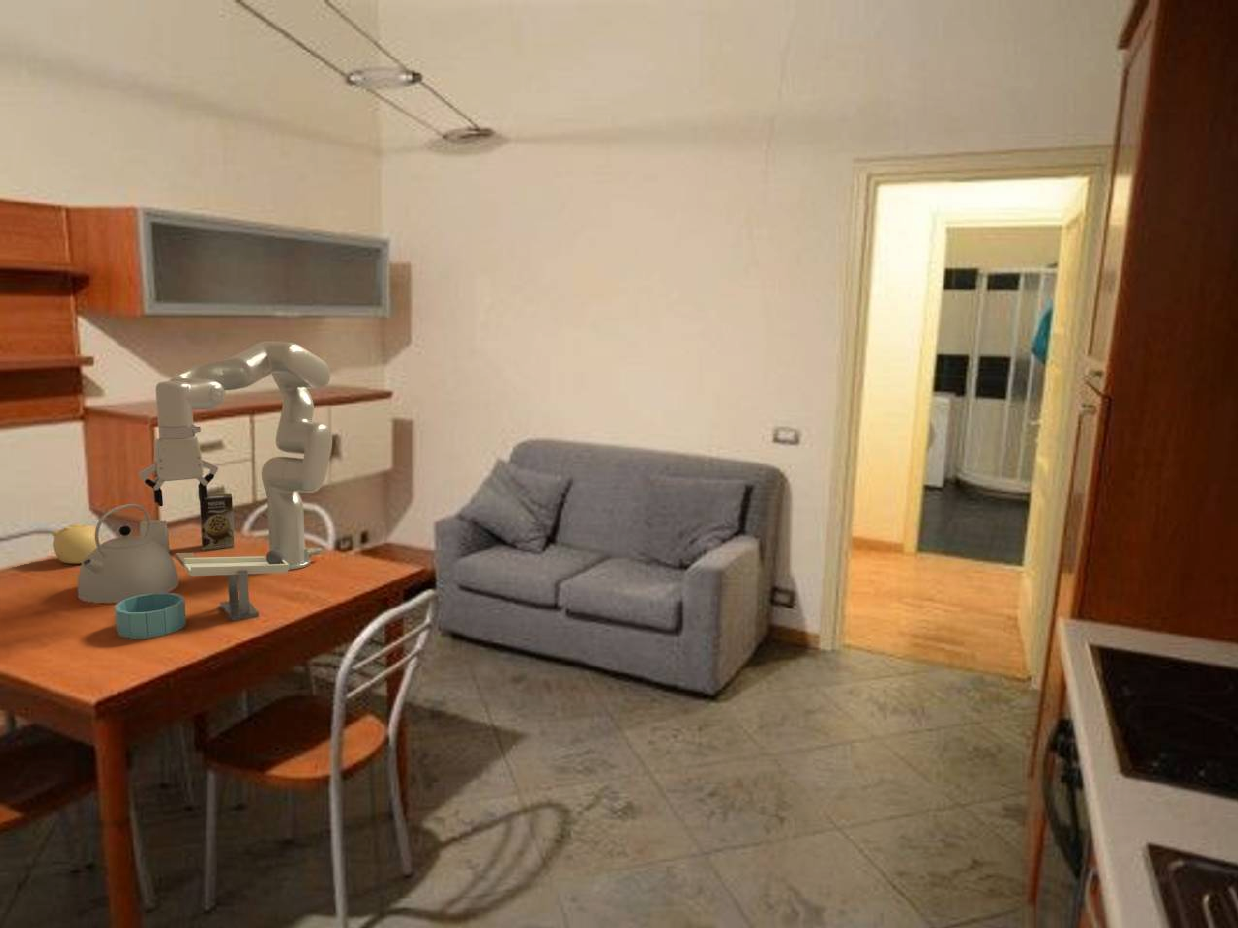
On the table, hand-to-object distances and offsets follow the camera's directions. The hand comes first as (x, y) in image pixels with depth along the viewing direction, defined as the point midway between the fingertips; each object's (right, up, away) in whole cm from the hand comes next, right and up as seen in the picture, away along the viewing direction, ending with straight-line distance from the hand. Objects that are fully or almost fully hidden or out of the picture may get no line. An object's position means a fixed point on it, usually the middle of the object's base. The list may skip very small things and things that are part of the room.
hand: (181, 502), depth 202 cm
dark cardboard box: (-18, -16, +55) cm, 60 cm away
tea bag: (-32, -17, +46) cm, 59 cm away
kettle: (-22, -24, +14) cm, 35 cm away
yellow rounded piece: (-49, -19, +37) cm, 64 cm away
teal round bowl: (-2, -28, -10) cm, 30 cm away
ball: (+21, -14, +5) cm, 25 cm away
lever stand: (+13, -27, +2) cm, 30 cm away
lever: (+10, -17, +4) cm, 20 cm away
